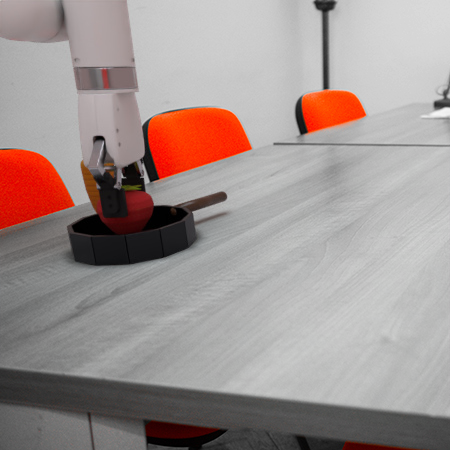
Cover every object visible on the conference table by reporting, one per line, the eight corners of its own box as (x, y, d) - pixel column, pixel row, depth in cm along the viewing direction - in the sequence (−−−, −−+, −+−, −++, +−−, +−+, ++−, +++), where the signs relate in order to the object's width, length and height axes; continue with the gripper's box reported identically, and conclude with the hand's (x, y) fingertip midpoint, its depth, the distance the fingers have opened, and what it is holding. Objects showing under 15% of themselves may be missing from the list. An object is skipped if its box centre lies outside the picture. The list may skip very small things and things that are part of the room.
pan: (127, 271, 73) (121, 241, 72) (47, 255, 80) (41, 227, 79) (264, 217, 96) (262, 194, 95) (193, 209, 103) (190, 186, 102)
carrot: (131, 223, 95) (115, 132, 91) (103, 231, 91) (85, 136, 87) (112, 219, 98) (97, 131, 93) (84, 227, 94) (67, 135, 89)
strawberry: (162, 242, 83) (153, 174, 80) (105, 252, 79) (93, 180, 76) (154, 232, 87) (145, 168, 85) (99, 241, 83) (88, 173, 81)
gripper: (106, 79, 85) (123, 197, 90) (43, 84, 68) (69, 228, 73) (157, 79, 85) (172, 196, 90) (108, 84, 69) (129, 227, 74)
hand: (126, 209), depth 82 cm, fingers closed on strawberry, 6 cm apart
